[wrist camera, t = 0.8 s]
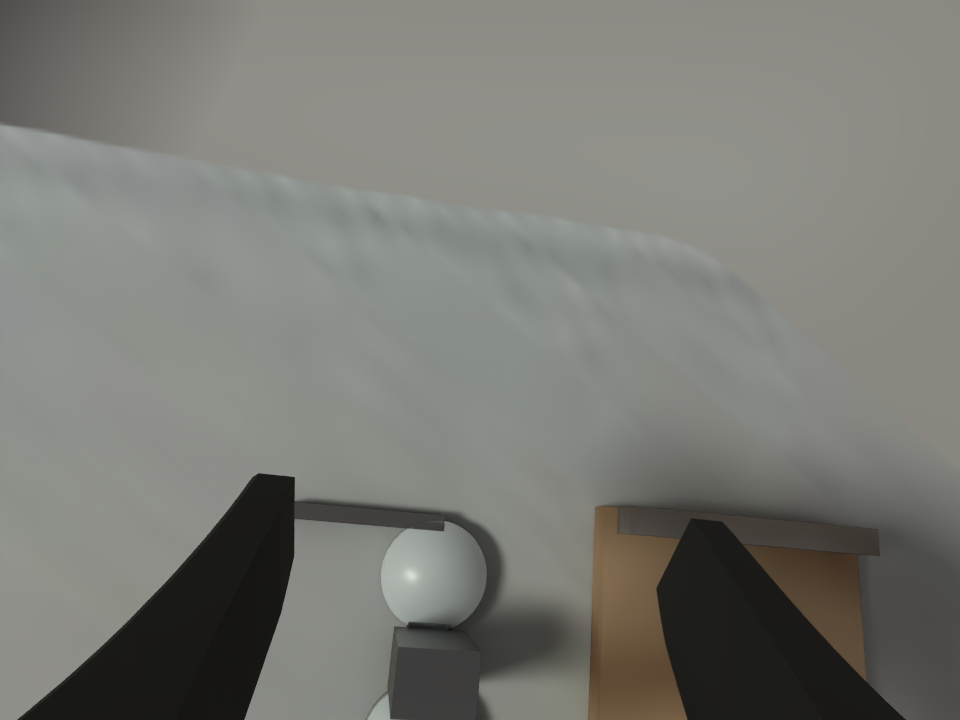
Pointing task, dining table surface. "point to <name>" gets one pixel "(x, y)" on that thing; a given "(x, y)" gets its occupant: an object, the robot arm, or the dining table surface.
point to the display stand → (635, 610)
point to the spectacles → (424, 611)
